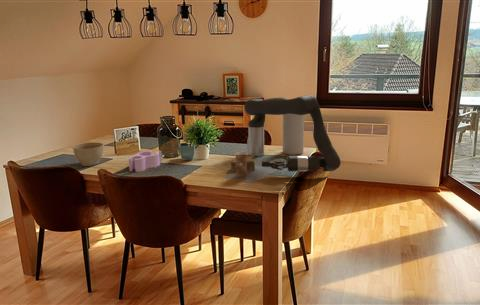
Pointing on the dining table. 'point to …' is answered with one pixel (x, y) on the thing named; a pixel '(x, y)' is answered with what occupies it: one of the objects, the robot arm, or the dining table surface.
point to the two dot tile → (249, 165)
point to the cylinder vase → (293, 134)
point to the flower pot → (186, 151)
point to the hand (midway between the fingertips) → (261, 164)
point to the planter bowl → (88, 153)
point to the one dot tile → (241, 165)
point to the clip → (144, 160)
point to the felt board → (253, 174)
